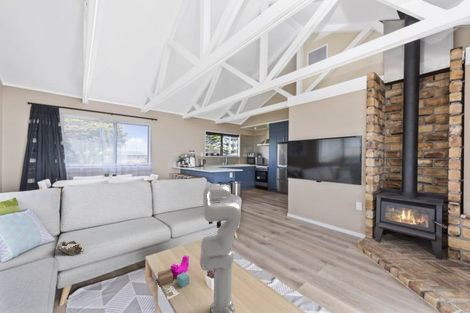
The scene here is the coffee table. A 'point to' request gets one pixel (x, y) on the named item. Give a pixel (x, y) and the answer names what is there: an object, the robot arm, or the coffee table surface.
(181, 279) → the teal cube
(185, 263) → the magenta curved piece
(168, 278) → the base brick
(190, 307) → the coffee table surface
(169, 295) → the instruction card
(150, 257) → the coffee table surface
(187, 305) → the coffee table surface
